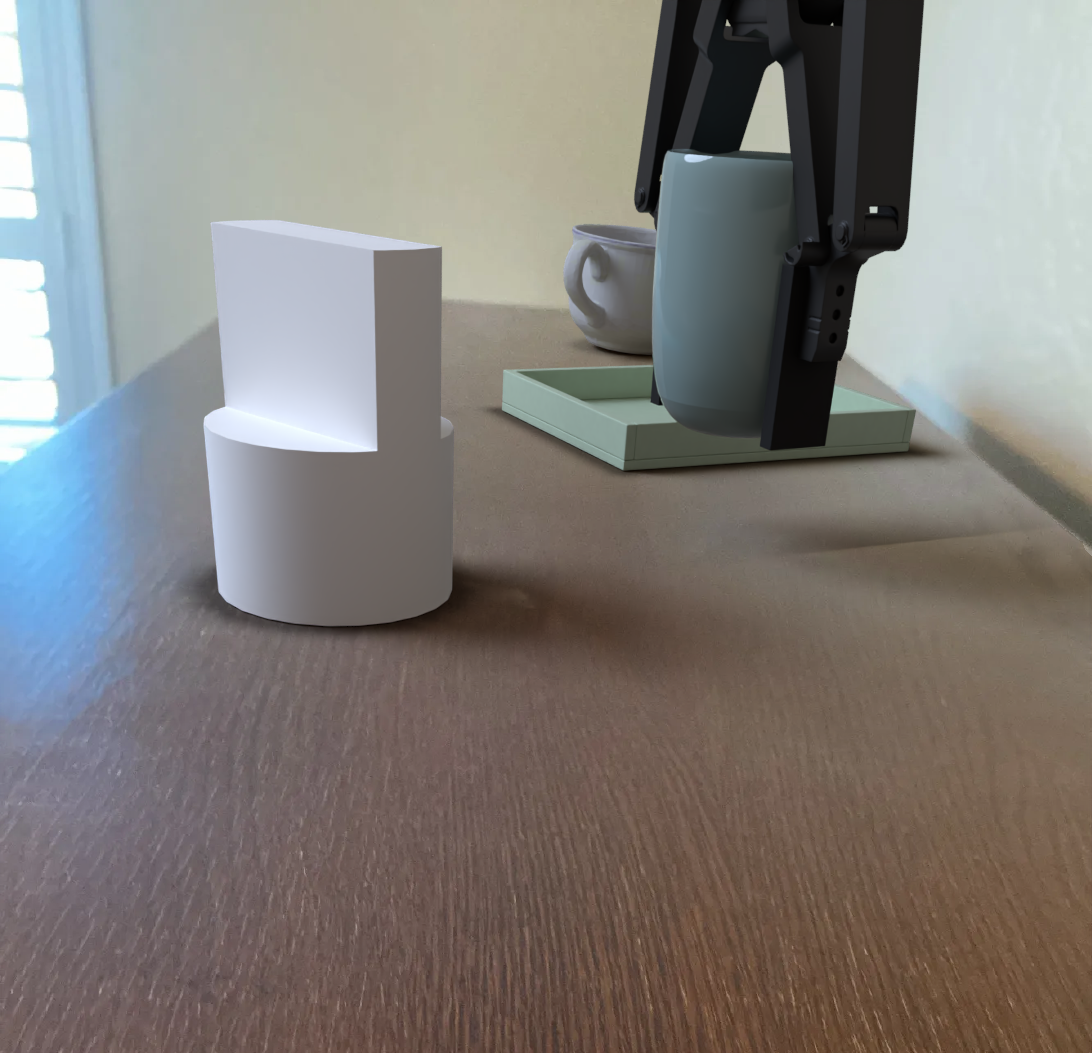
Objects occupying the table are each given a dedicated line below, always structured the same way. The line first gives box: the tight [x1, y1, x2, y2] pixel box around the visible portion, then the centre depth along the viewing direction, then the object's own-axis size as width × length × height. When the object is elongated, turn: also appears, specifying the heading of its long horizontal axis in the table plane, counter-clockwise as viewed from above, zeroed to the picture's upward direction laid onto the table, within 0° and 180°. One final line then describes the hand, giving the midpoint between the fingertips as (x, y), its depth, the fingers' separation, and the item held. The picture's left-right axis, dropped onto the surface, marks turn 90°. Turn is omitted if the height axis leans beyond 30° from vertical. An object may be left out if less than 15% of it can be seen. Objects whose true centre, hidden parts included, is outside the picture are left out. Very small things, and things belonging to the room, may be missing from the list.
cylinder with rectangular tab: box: [203, 219, 455, 627], centre depth 47 cm, size 9×9×12 cm
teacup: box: [562, 223, 657, 356], centre depth 98 cm, size 14×11×8 cm
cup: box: [652, 149, 833, 438], centre depth 53 cm, size 8×8×10 cm
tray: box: [501, 364, 917, 472], centre depth 77 cm, size 19×15×2 cm
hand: (733, 422), depth 56 cm, fingers closed on cup, 8 cm apart
